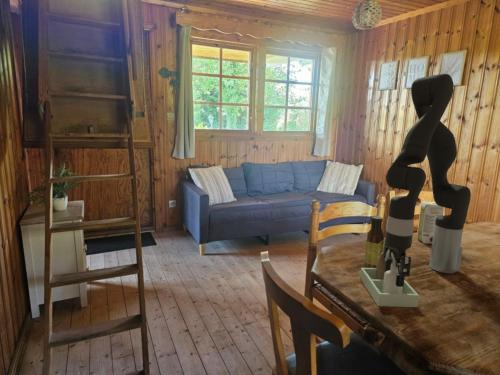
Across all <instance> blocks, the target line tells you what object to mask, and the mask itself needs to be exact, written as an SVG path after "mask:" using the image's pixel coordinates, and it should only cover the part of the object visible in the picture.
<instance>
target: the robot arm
mask: <svg viewBox="0 0 500 375" xmlns="http://www.w3.org/2000/svg"><path fill="white" fill-rule="evenodd" d="M410 94H411V100H412V104H413V107H414V110H415V113H416V115H417V119H418V120H417V121H416V122H415V123H414V124H413V126H411V128H410V129H409V130H408V132H407V134H406V135H405V137H404V138H405V139H404V141H403V143H402V147H401V150H400V152H399V153H398V155H397V156H396V158H395V160H394V161H393V162H392V163H391V165H390V166H389V168H388V169H387V171H386V174H385V181H386V184H387V186H388V187H389V188H391V189H396V190H404V191H408V193H407V195H399V196H396V195H395V196H393V197H391V198H390V200H389V206H388V207H389V210H388V217H387V221H386V226H385V237H384V246H383V258H385V262H386V265H385V272H386V271H388V270H390V268H391V263H394V267H395V268H396V272H397V275H396V286H397V287H403V286H404V280H405V278H406V277H410V275H411V265H412V264H411V263H412V257H411V256H407V254H406V253H407V252H406V251H407V250H408V249H410V248H412V244H413V236H414V227H415V223H414V222H415V221H414V219H415V212H416V206H417V201H418V199H419V196H420V194H421V192H422V190H423V188H424V186H425V184H426V183H425V182H426V181H427V175H426V171H425V170H424V169H423V168H422V167H417V166H411V165H418V164H421V163H423V162H424V161H425V159H426V157H427V160H428V165H429V172H430V176H431V187H432V195H433V200H434V201H433V202H435V203H436V204H437V205H439V206H441V207H444V209H445V208H446V209H449V210H451V211H450V214H446V215H444V214H443V216H438V217H437V218H436V220H435V227H434V234H433V242H432V244H431V250H430V256H429V257H430V258H429V268H431V269H432V270H434V271H436V272H439V273H443V274H455V273H459V272H460V268H461V261H462V256H463V250H464V249H463V247H461V244H462V237H463V234H464V233H463V232H464V225H465V223H466V220H467V216H468V212H469V207H470V203H471V195H472V194H471V189H470V188H469V187H468V186H466V185H461V184H455V183H450V182H449V181H448V175H447V174H448V171H449V169H450V168H451V167H452V165H453V164H454V162H455V160H456V158H457V157H458V149H457V144H456V138H455V134H454V133H453V132H452V131H451V130H450V129H449V128H448V127H447V126H446V125H445V124H444V123H443V122H442V121H441V119H442V118H443V115H444V114H445V112H446V110H447V108H448V106H449V104H450V102H451V99H452V97H453V94H454V81H453V78H452V76H451V75H450V74H448V73H440V74H433V75H428V76H423V77H418V78H416V79H414V80H413V81H412V83H411V88H410ZM386 252H387V254H386Z"/></svg>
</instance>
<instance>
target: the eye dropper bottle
mask: <svg viewBox="0 0 500 375" xmlns="http://www.w3.org/2000/svg"><path fill="white" fill-rule="evenodd" d="M396 275H397V272H396V268H395V267H394V263H391V268H390V270H388V271H386V272H385V273H384V281H383V290H382V293H402V288H403V287H397V286H396Z"/></svg>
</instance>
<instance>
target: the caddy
mask: <svg viewBox="0 0 500 375" xmlns="http://www.w3.org/2000/svg"><path fill="white" fill-rule="evenodd" d="M386 254H387V252H386ZM385 265H386V262H385V258H383V252H381V253H380V256H378V257H377V267H376V268H368V267H360V273H359V279H360V280H361V282H362V283H363V285H364V286H365V289H366V290H367V291H368V293H369V295H370V297H372V300H374V302H375V304H376V305H377V307H394V308H396V307H397V308H398V307H399V308H400V307H401V308H402V307H403V308H418V305H419V298H420V297H419V296H420V295H419V294H418V292H417V291H416V290H415V289H414V288H413V287H412V286H411V285H410V284H409V283H408V282H407V281H406V280H405V279H404V286H403V288H402V293H382V290H383V281H384V273H385Z"/></svg>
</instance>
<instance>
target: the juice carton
mask: <svg viewBox="0 0 500 375" xmlns="http://www.w3.org/2000/svg"><path fill="white" fill-rule="evenodd" d="M444 210H445V207H441V206H439V205H437V204H436V203H435V201H424V200H423V201H421V205H420V209H419V217H418V226H417V232H416V233H417V234H416V238H417V240H418V241H419V242H421V243H422V244H431V245H432V242H433V234H434V227H435V220H436V218H437V217H438V216H443V215H444Z"/></svg>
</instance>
